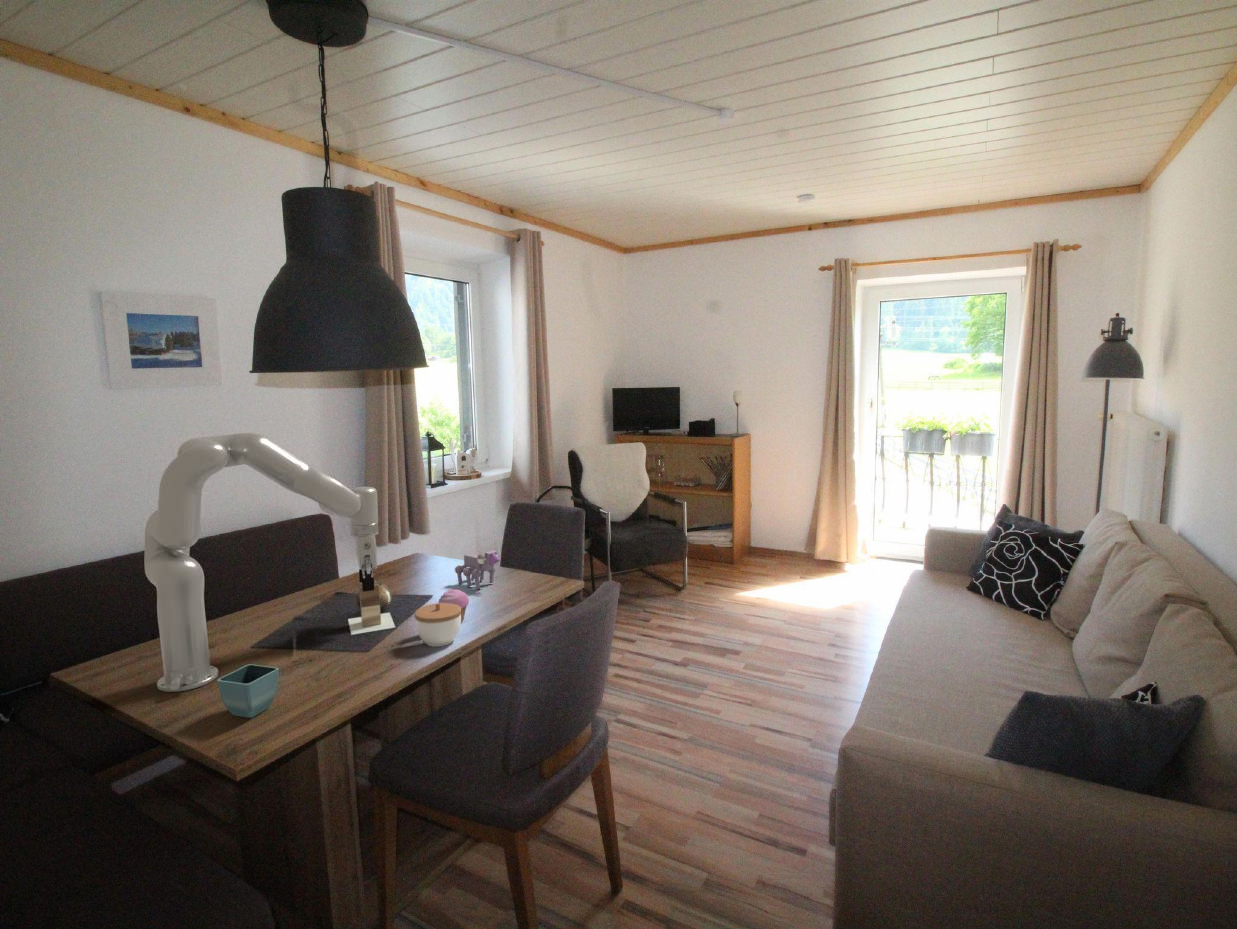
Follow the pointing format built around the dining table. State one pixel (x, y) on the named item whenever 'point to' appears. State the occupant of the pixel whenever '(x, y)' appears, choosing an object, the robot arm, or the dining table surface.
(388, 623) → the plate
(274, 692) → the flower pot
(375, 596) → the walnut block
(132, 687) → the dining table surface
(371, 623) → the maple block
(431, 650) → the dining table surface
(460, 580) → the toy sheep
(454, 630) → the lidded bowl
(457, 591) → the cupcake
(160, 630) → the robot arm
